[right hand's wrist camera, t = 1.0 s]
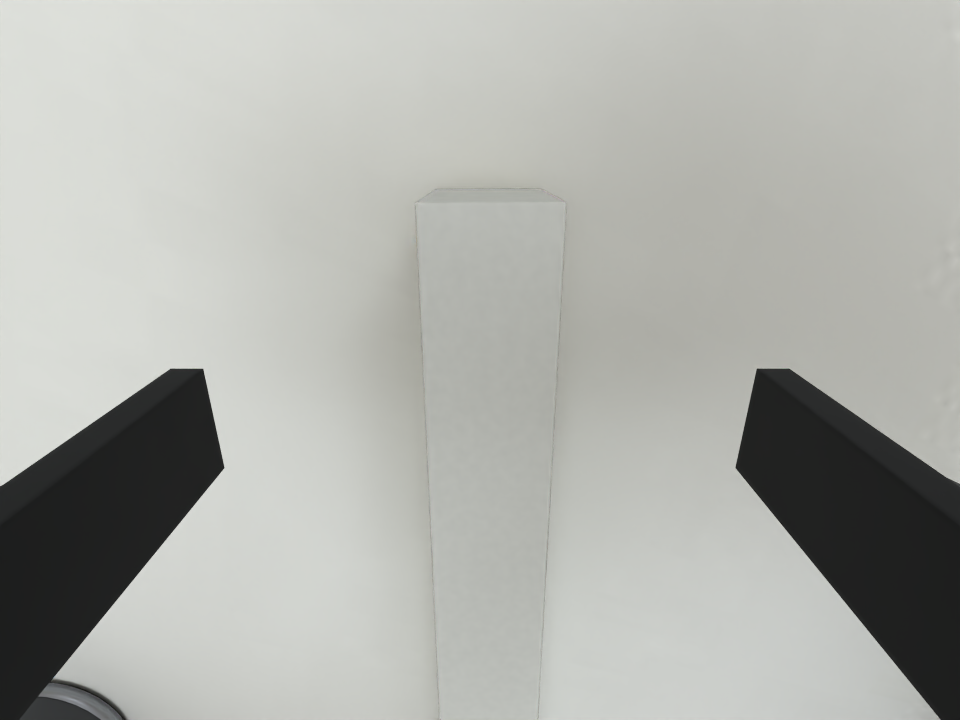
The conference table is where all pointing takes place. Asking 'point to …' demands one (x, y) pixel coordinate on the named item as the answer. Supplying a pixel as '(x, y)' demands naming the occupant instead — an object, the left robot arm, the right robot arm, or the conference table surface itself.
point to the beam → (489, 436)
